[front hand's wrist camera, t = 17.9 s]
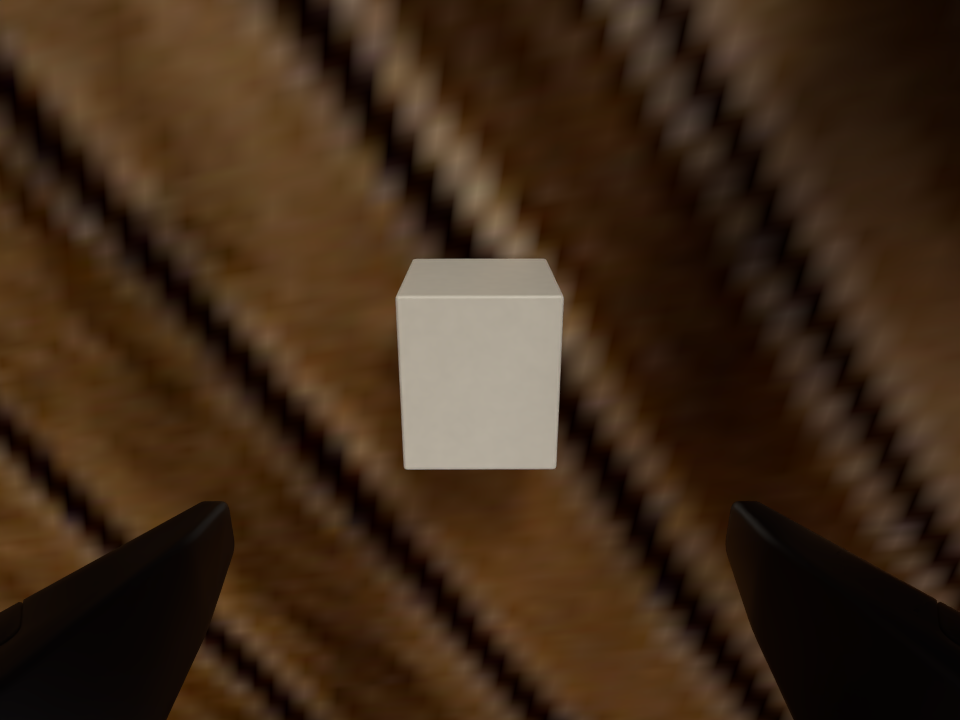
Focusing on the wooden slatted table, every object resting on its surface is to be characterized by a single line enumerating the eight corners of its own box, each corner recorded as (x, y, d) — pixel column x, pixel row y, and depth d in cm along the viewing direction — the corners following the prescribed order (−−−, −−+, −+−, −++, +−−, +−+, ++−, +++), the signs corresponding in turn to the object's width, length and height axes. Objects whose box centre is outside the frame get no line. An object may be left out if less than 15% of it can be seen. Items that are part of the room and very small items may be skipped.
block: (546, 258, 21) (564, 295, 16) (541, 402, 22) (556, 470, 18) (412, 258, 21) (394, 296, 16) (417, 402, 22) (403, 471, 18)
